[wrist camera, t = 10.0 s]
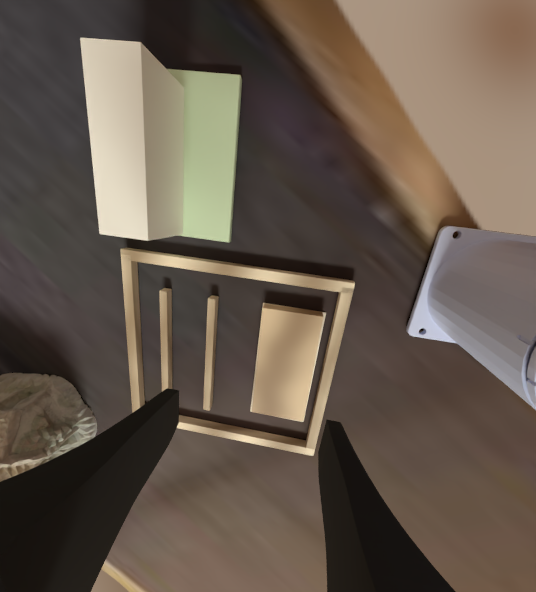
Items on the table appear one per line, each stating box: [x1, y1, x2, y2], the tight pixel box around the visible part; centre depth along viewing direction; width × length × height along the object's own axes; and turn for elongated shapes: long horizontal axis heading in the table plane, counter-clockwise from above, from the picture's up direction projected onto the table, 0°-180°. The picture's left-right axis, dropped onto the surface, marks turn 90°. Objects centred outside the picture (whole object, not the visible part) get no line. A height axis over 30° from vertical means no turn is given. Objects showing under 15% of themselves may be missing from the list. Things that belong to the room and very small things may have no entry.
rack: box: [120, 248, 355, 456], centre depth 22 cm, size 18×17×1 cm
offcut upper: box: [252, 303, 323, 421], centre depth 21 cm, size 5×10×1 cm, turn 175°
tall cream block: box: [80, 38, 184, 241], centre depth 15 cm, size 3×9×4 cm, turn 174°
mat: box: [167, 69, 242, 242], centre depth 17 cm, size 10×10×1 cm
